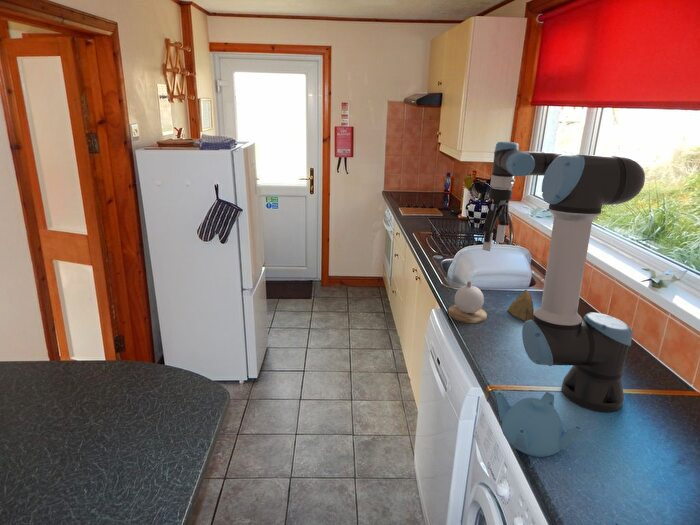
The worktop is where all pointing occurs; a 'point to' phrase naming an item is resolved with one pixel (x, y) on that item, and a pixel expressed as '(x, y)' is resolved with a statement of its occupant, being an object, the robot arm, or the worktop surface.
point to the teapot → (534, 425)
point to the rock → (523, 306)
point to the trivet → (467, 315)
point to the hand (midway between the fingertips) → (493, 246)
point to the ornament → (469, 298)
